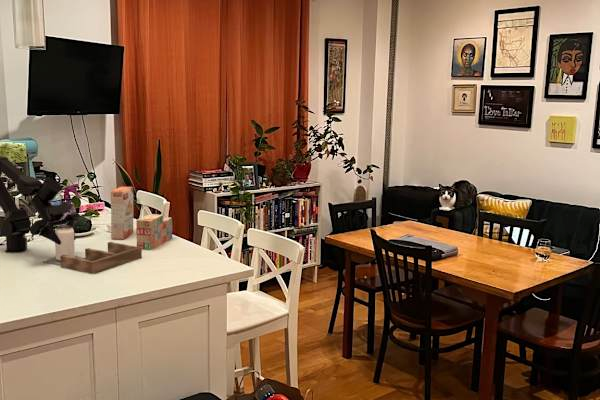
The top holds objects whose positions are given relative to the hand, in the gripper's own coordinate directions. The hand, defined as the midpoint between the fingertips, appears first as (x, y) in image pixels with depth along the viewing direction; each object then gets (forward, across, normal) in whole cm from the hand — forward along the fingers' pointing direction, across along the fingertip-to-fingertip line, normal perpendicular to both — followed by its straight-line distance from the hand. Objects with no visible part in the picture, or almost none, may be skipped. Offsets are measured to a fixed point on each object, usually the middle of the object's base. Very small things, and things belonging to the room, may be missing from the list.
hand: (67, 241), depth 213 cm
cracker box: (-2, +40, +13) cm, 42 cm away
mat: (+4, 0, +6) cm, 7 cm away
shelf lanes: (+13, +6, -3) cm, 14 cm away
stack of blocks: (+12, +38, -1) cm, 40 cm away
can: (+4, 0, +6) cm, 7 cm away
